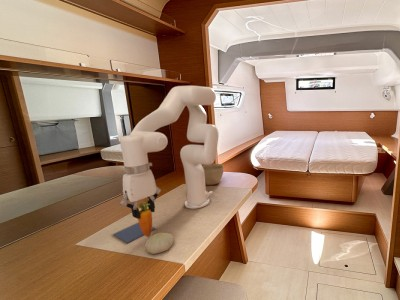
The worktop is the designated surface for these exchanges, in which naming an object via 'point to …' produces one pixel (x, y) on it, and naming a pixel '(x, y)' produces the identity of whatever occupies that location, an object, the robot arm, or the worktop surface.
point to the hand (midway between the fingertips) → (144, 213)
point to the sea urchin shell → (159, 243)
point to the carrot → (145, 219)
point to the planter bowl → (213, 173)
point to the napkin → (130, 233)
